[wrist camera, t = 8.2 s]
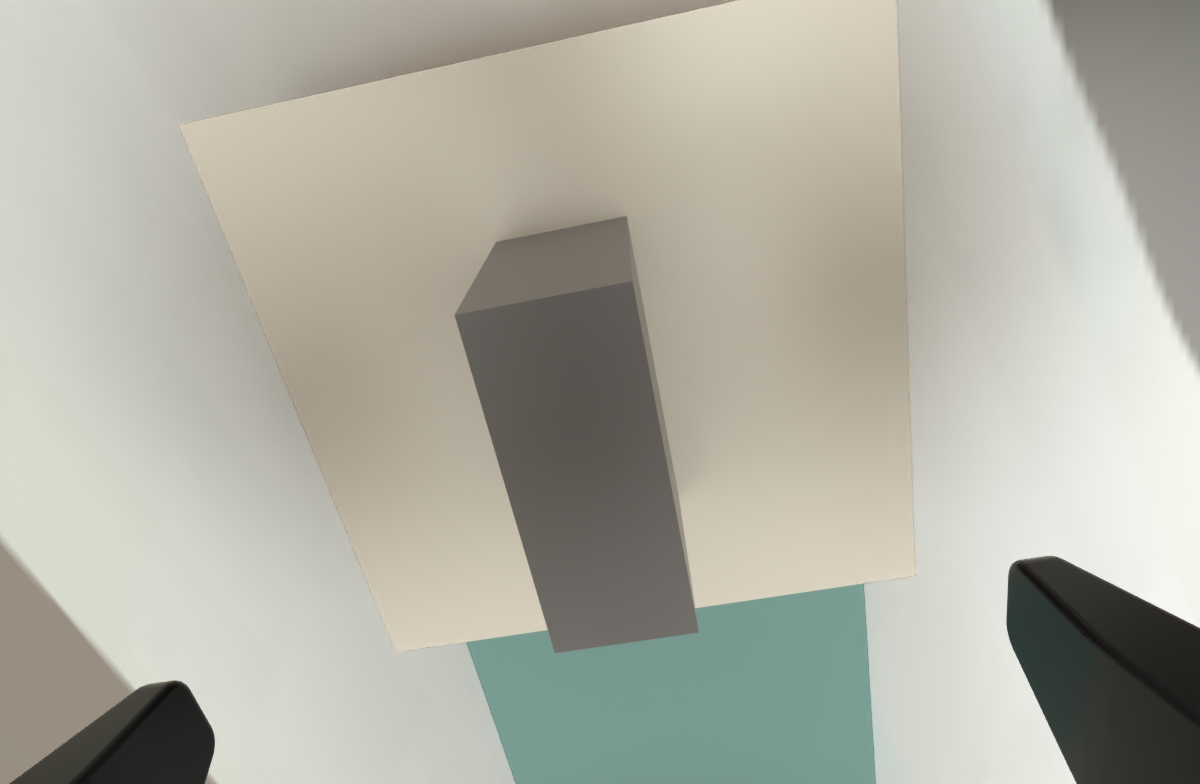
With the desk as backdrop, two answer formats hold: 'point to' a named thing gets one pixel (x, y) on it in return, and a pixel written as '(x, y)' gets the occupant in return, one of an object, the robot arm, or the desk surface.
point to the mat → (694, 699)
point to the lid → (595, 318)
